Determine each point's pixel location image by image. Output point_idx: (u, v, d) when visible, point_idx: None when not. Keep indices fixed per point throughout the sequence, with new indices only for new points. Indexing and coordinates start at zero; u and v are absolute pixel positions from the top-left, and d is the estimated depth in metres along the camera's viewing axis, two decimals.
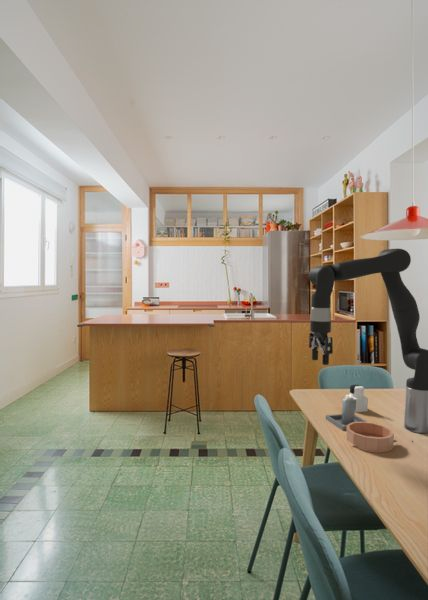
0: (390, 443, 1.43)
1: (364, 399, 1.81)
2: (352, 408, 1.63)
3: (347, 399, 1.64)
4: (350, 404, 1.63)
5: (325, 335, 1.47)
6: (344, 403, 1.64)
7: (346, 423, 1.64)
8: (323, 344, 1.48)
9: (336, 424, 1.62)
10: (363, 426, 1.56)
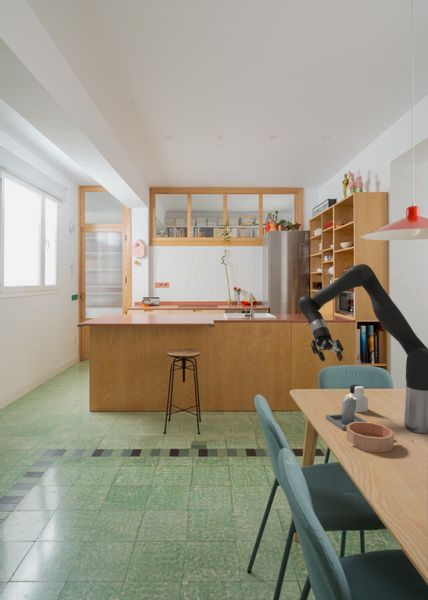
0: (390, 443, 1.43)
1: (364, 399, 1.81)
2: (352, 408, 1.63)
3: (347, 399, 1.64)
4: (350, 404, 1.63)
5: (316, 340, 1.83)
6: (344, 403, 1.64)
7: (346, 423, 1.64)
8: (321, 347, 1.81)
9: (336, 424, 1.62)
10: (363, 426, 1.56)
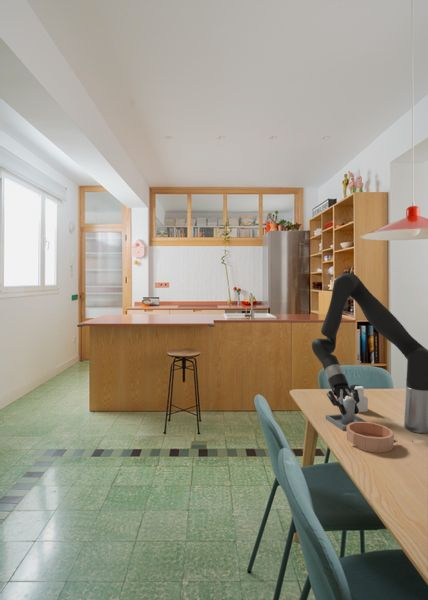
0: (390, 443, 1.43)
1: (364, 399, 1.81)
2: (352, 408, 1.63)
3: (347, 399, 1.64)
4: (350, 404, 1.63)
5: (332, 389, 1.70)
6: (344, 403, 1.64)
7: (346, 423, 1.64)
8: None
9: (336, 424, 1.62)
10: (363, 426, 1.56)
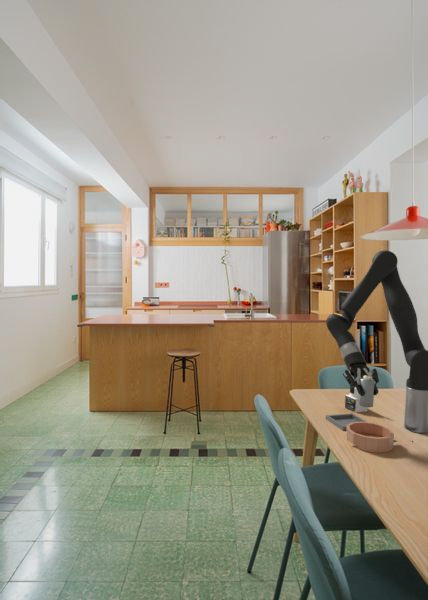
0: (390, 443, 1.43)
1: None
2: (371, 388, 1.48)
3: (365, 378, 1.49)
4: (369, 384, 1.48)
5: (349, 368, 1.55)
6: (362, 383, 1.49)
7: (364, 405, 1.49)
8: (356, 377, 1.54)
9: (336, 424, 1.62)
10: (363, 426, 1.56)
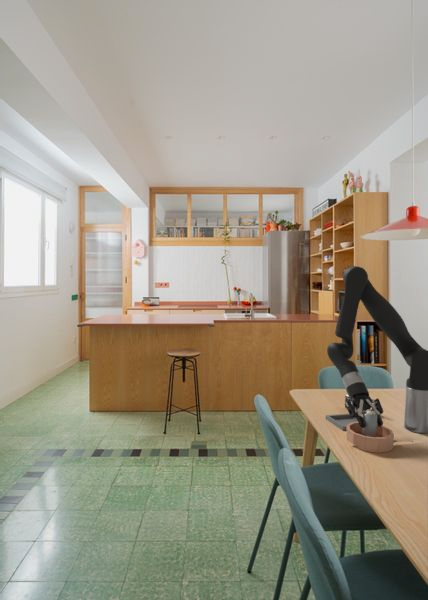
0: (390, 443, 1.43)
1: None
2: (374, 423, 1.46)
3: (368, 413, 1.47)
4: (372, 419, 1.46)
5: (352, 399, 1.53)
6: (365, 418, 1.47)
7: None
8: None
9: (336, 424, 1.62)
10: None
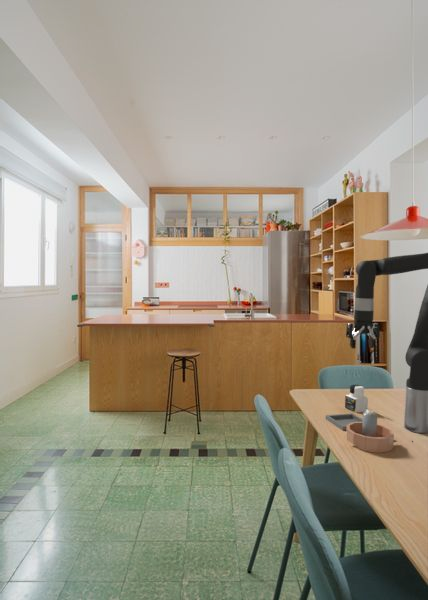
0: (390, 443, 1.43)
1: (364, 399, 1.81)
2: (374, 423, 1.46)
3: (368, 413, 1.47)
4: (372, 419, 1.46)
5: (355, 322, 1.65)
6: (365, 418, 1.47)
7: None
8: (356, 330, 1.65)
9: (336, 424, 1.62)
10: None
